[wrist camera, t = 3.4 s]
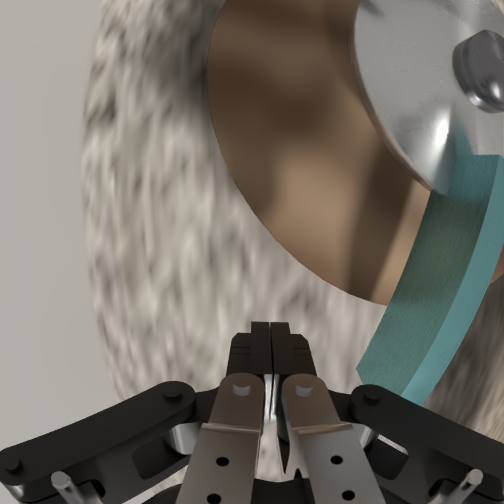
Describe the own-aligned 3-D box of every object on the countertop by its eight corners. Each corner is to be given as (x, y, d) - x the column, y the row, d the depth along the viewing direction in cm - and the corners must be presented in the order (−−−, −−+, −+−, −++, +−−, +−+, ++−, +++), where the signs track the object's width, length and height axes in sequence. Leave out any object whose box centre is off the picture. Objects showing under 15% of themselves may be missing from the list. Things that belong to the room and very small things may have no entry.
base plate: (279, -86, 11) (284, -143, 4) (543, 59, 12) (591, 49, 5) (156, 230, 18) (96, 266, 11) (489, 329, 19) (539, 372, 12)
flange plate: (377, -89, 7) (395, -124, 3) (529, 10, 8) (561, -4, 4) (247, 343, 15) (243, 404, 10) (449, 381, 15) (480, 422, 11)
